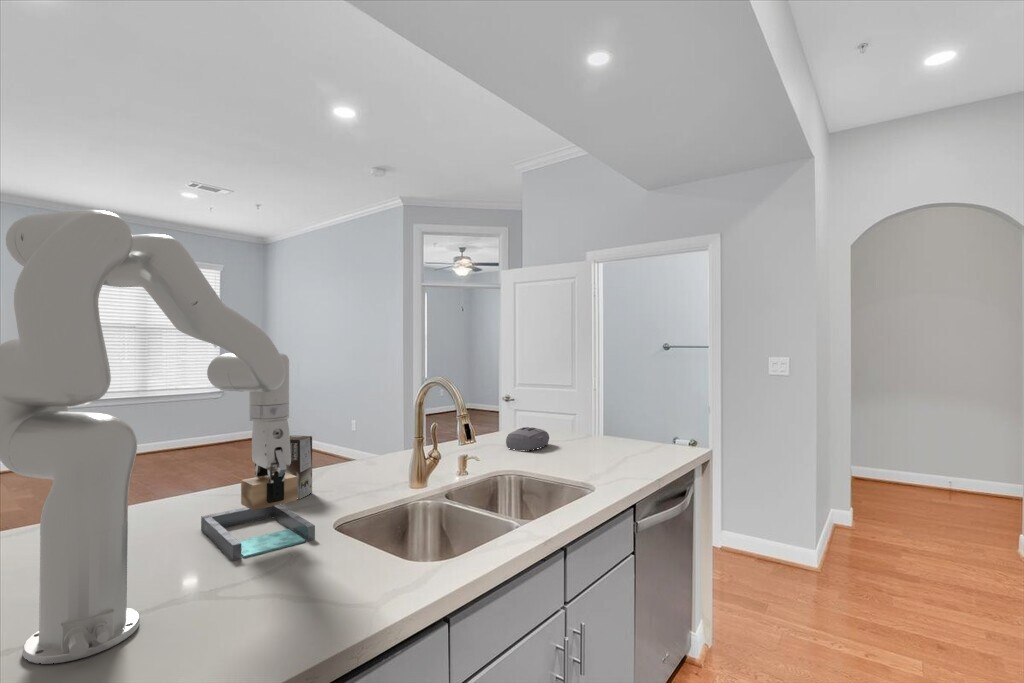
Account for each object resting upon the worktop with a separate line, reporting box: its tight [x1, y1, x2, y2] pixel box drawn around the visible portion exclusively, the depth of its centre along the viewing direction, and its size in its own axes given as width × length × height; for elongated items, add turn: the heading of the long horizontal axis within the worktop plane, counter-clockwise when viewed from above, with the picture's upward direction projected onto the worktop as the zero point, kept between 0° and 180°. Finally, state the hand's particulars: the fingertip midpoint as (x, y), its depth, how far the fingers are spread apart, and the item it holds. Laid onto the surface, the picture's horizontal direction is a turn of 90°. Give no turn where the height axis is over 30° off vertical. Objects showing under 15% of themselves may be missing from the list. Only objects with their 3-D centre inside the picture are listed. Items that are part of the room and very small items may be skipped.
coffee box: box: [271, 434, 313, 500], centre depth 142 cm, size 9×6×16 cm
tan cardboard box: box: [240, 472, 298, 510], centre depth 108 cm, size 6×9×5 cm, turn 138°
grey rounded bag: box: [505, 426, 550, 452], centre depth 212 cm, size 15×8×20 cm
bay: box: [200, 504, 316, 562], centre depth 112 cm, size 23×16×3 cm
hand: (269, 497), depth 108 cm, fingers closed on tan cardboard box, 6 cm apart
